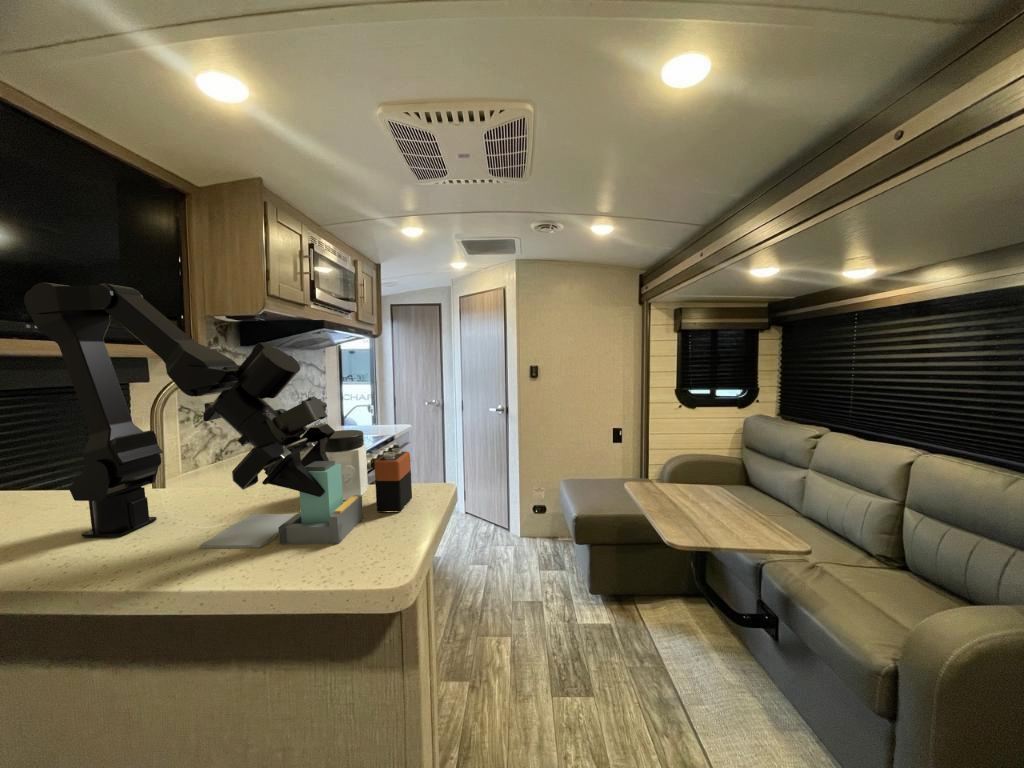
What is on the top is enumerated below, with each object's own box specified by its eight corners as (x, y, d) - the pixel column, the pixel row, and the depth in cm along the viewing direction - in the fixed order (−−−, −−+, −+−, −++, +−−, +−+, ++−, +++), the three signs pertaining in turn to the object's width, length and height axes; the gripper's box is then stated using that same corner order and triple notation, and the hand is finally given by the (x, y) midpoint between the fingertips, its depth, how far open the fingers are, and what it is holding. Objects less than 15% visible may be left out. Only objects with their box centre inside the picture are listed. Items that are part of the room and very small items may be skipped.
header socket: (279, 543, 59) (277, 515, 59) (311, 518, 68) (309, 493, 68) (338, 543, 59) (336, 514, 58) (363, 518, 68) (361, 493, 67)
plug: (302, 536, 61) (297, 468, 60) (317, 524, 66) (313, 460, 65) (331, 536, 61) (326, 467, 60) (344, 524, 65) (340, 459, 65)
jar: (323, 505, 74) (318, 440, 73) (316, 493, 80) (312, 433, 79) (373, 495, 78) (370, 434, 77) (363, 484, 85) (360, 427, 84)
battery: (375, 513, 70) (372, 456, 69) (390, 498, 77) (387, 446, 76) (400, 513, 70) (397, 456, 69) (412, 498, 76) (410, 446, 75)
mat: (199, 547, 58) (199, 545, 58) (251, 516, 69) (250, 514, 69) (260, 547, 58) (260, 544, 58) (302, 516, 69) (302, 513, 69)
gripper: (247, 387, 52) (336, 470, 53) (320, 377, 71) (385, 439, 71) (193, 448, 53) (281, 529, 54) (279, 422, 72) (344, 483, 72)
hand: (330, 489), depth 63 cm, fingers closed on plug, 4 cm apart
